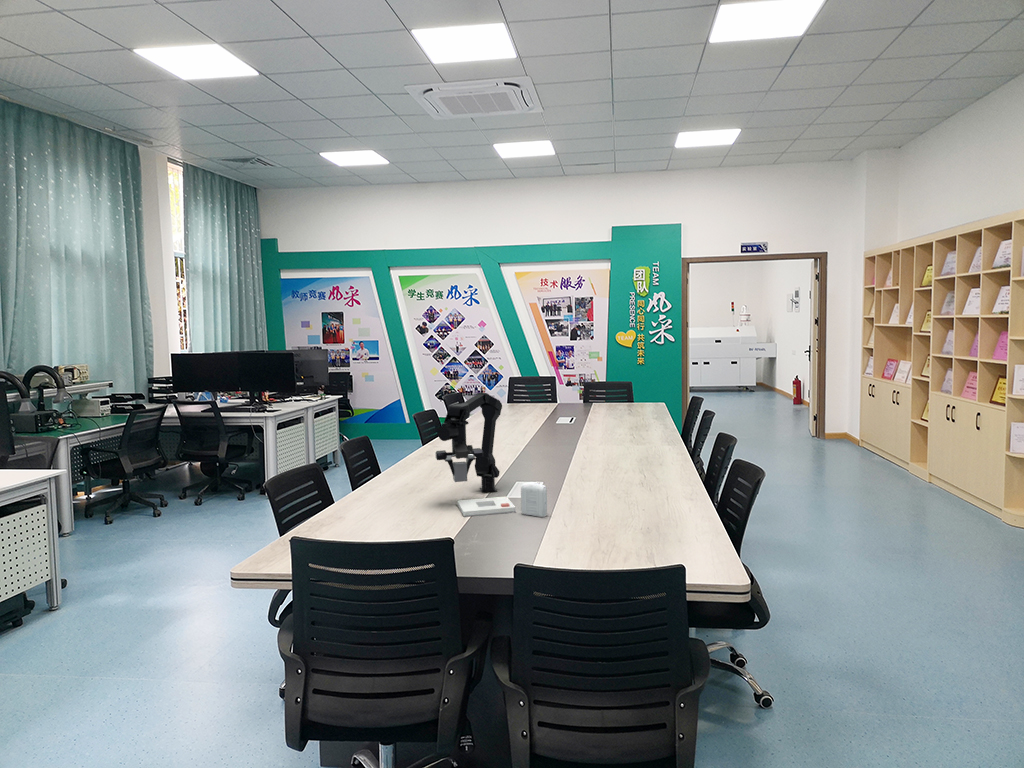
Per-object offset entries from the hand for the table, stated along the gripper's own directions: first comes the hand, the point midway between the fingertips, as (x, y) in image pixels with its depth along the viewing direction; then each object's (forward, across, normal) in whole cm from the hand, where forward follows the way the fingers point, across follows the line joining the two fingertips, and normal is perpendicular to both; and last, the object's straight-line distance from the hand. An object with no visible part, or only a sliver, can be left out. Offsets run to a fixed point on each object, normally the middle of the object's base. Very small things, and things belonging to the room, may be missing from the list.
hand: (460, 475), depth 269 cm
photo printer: (+12, +24, -25) cm, 37 cm away
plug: (+2, 0, 0) cm, 2 cm away
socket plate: (+11, +8, -12) cm, 18 cm away
